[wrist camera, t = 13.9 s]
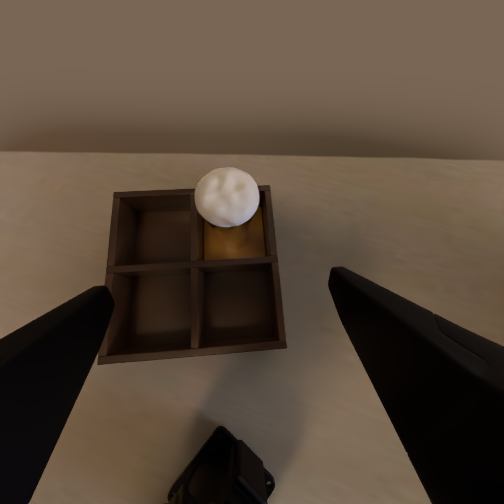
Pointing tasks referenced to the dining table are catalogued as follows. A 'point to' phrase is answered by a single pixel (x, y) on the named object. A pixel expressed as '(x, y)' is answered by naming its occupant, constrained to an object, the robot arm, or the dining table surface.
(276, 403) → the dining table surface
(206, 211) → the milkshake
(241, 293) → the organiser
